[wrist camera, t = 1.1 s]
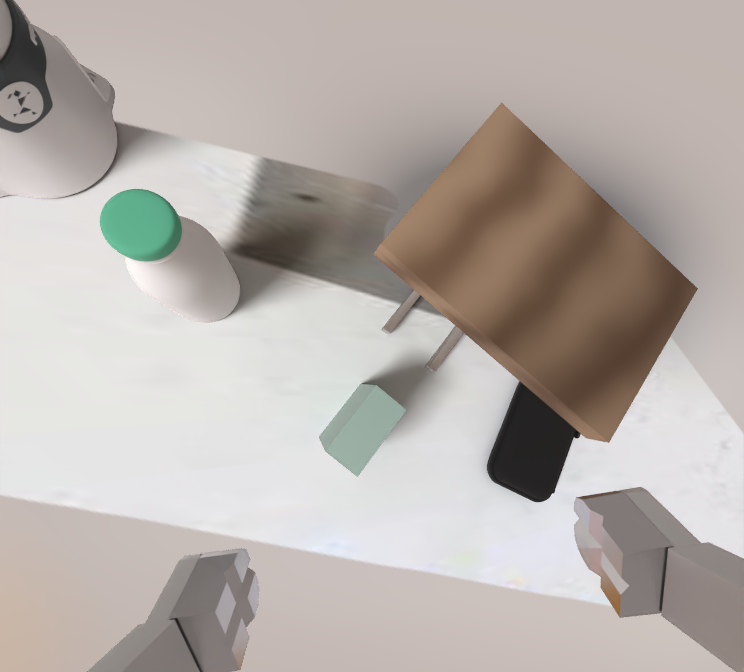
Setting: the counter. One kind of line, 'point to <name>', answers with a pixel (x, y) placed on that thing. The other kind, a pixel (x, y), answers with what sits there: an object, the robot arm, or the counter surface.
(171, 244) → the milk bottle
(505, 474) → the carrying case or bag
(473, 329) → the walnut overhang shelf
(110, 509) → the counter surface
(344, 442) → the sage rectangular block
